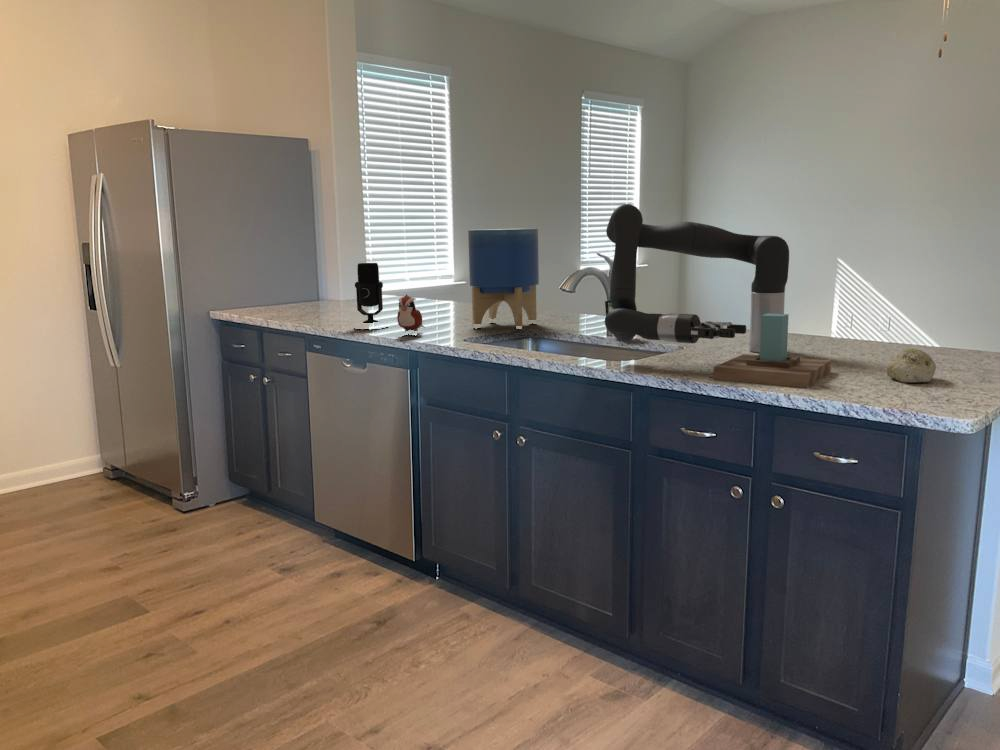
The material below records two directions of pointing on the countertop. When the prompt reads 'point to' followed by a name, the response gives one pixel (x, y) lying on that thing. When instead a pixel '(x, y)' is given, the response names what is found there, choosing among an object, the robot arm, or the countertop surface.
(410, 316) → the toy
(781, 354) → the pillar
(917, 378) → the decorative item
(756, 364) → the plinth
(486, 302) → the planter
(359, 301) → the microphone
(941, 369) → the countertop surface
